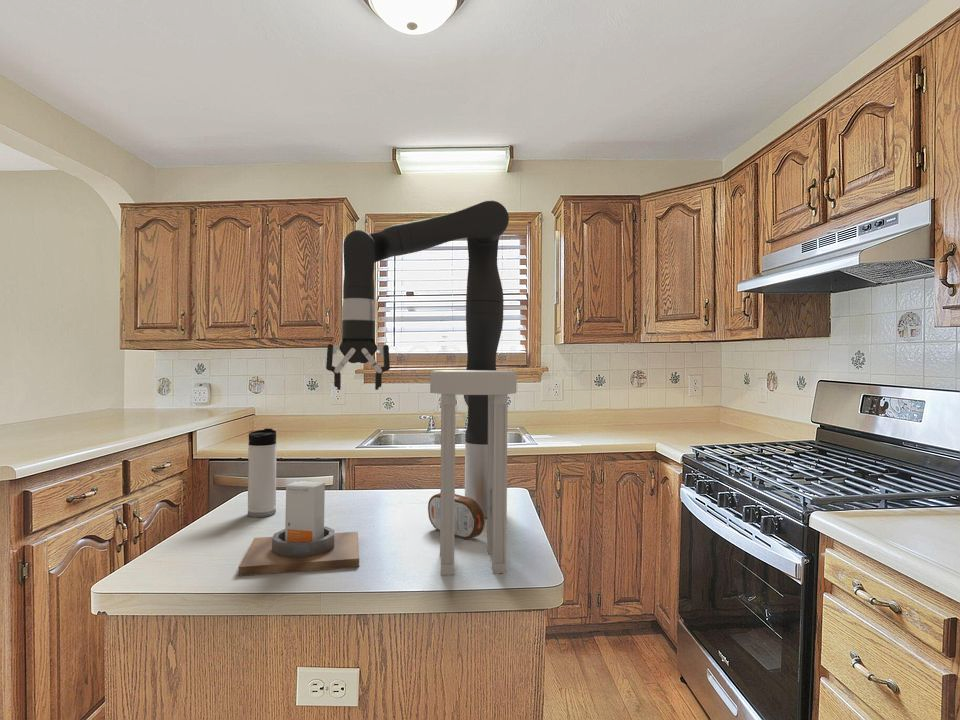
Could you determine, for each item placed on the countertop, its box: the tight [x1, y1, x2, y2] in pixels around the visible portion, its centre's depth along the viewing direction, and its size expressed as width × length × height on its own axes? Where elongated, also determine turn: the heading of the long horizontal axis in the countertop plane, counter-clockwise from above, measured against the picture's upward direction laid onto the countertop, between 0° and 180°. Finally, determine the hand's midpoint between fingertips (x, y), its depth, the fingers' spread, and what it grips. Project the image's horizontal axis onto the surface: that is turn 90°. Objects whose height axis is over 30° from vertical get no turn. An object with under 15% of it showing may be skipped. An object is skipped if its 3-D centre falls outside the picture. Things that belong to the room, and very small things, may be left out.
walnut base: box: [238, 531, 360, 576], centre depth 104 cm, size 20×16×2 cm
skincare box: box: [284, 480, 326, 542], centre depth 104 cm, size 6×4×12 cm
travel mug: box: [247, 427, 277, 518], centre depth 133 cm, size 6×7×20 cm
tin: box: [427, 492, 485, 540], centre depth 118 cm, size 15×3×8 cm, turn 47°
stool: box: [429, 369, 518, 576], centre depth 101 cm, size 16×16×35 cm
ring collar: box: [272, 525, 336, 558], centre depth 104 cm, size 11×11×2 cm
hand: (358, 389), depth 128 cm, fingers open, 8 cm apart
